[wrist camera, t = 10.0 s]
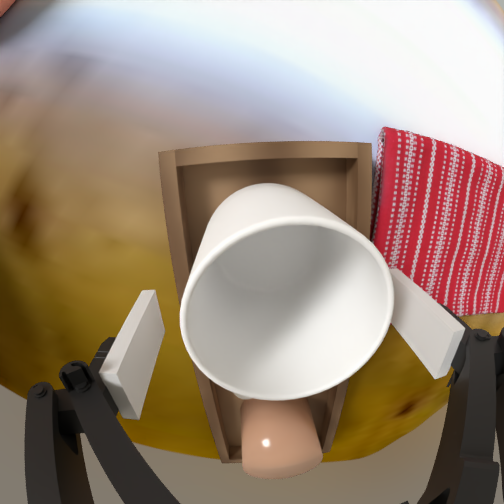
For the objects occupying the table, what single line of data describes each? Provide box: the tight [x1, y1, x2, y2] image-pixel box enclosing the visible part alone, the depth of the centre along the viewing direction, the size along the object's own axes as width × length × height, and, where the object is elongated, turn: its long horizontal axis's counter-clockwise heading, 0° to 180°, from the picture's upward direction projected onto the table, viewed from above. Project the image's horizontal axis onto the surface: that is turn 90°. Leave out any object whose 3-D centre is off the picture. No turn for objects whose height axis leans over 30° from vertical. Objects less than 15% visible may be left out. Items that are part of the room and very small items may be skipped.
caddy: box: [158, 141, 372, 463], centre depth 23 cm, size 13×33×3 cm, turn 3°
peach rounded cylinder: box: [240, 397, 323, 479], centre depth 23 cm, size 7×7×7 cm
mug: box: [180, 183, 394, 400], centre depth 15 cm, size 12×8×10 cm
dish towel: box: [369, 127, 504, 325], centre depth 21 cm, size 17×24×3 cm
